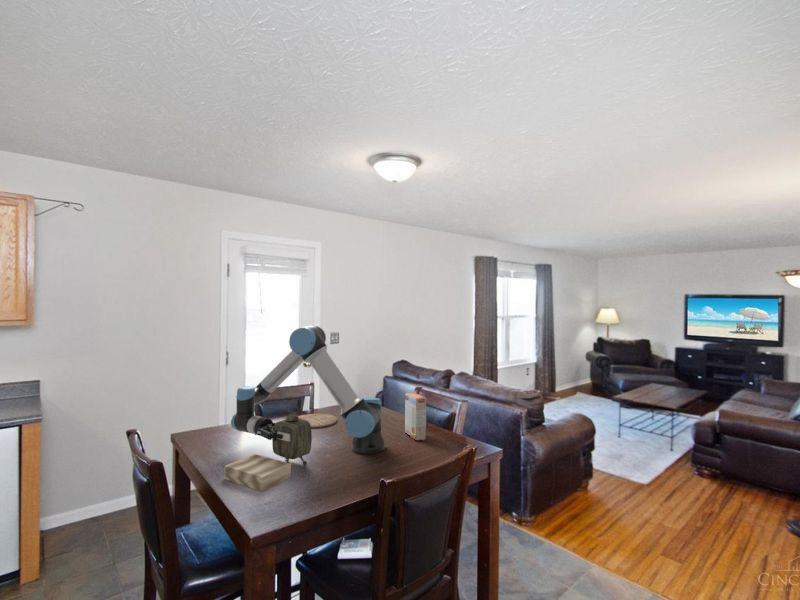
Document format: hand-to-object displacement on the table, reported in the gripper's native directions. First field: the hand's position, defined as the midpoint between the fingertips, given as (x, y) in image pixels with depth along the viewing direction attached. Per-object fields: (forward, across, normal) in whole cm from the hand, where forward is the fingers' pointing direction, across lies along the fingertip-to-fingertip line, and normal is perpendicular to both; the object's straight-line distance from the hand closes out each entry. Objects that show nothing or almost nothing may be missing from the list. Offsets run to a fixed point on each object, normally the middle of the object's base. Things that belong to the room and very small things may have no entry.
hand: (299, 434), depth 162 cm
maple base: (-5, +16, -13) cm, 21 cm away
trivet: (-37, -52, -14) cm, 65 cm away
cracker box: (+24, -58, -13) cm, 64 cm away
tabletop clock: (-4, 0, -13) cm, 14 cm away
